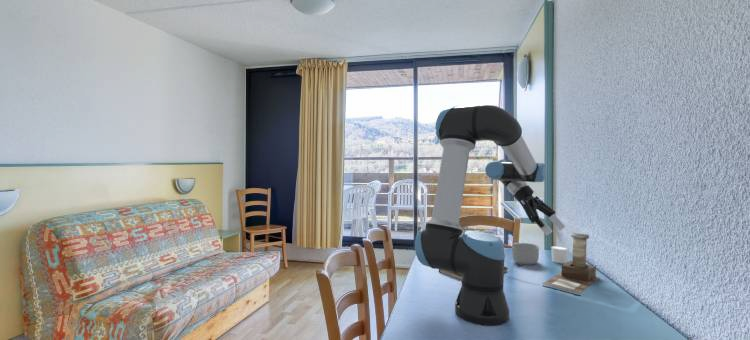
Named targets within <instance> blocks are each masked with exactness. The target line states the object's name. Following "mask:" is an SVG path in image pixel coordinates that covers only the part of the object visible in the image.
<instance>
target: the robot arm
mask: <svg viewBox="0 0 750 340" xmlns="http://www.w3.org/2000/svg"><path fill="white" fill-rule="evenodd" d="M434 130H435V135H436V138H437V139H438V140H439V144H440V146H441V147H442V148H443V150H442V154H441V160H440V161H441V162H440V168H439V171H438V172H439V174H438V179H437V185H436V189H435V195H434V196H435V198H434V202H433V208H432V214H431V218H430V219H429V220H427V221H426V222H425V226H424V228H421V229H420V230H419V231H418V233H417V234H416V236H415V240H414V250H415V255H416V257H417V260H418V261H419V263H421V265H423V266H425V267H428V268H429V267H430V268H431V269H434V270H439V269H440V270H444V271H448V272H453V273H457V274H461V275H462V280H461V287H460V289H459V292H458V294H457V297H456V300H455V303H454V313H455V314H456V315H457V316H458V317H459V318H460V319H462V320H464V321H466V322H467V323H470V324H475V325H480V326H489V327H491V326H501V325H504V324H505V323H508V321H509V319H510V307H509V305H508V301H507V299H506V295H505V291H504V284H505V283H504V281H505V280H504V277H505V273H504V267H505V259H506V255H505V254H506V253H505V244H504V241H503V240H502V239H501V238H500V237H499V236H497V235H495V234H492V233H489V232H486V231H485V232H484V231H481V230H478V231H476V230H465V231H464V232H463V228H462V226H461V225H460V216H461V209H462V202H463V197H464V190H465V184H466V183H465V182H466V176H467V171H468V164H469V158H470V152H471V151H473V150H474V149H476V145H477V141H478V142H479V141H491V142H493V143H494V144H495V145H496V146H498V147H501V149H502V151H503V152H504V154H505V155H506V156H507V158H508V160H509V162H508V161H507V160H505V159H504V158H502V159H499V160H492V161H489V162H488V163H487V164H486V165H485V169H484V171H485V174H486V176H487V178H488V179H489V178H490V179H491V180H493V181H494V180H495V181H498V182H499V181H500V182H501V184H502V185H503V186H505V189H507V190H508V191H507V192H509V193H511V195H513V197H514V199H515V200H516V201H517V202H518V203H519V204H520V206H521V207H522V209H523V210H524V212H525V214H526V216H527V218H528V220H529V221H530V222H531V223H532V224H534V223H535V224H536V225H537V226H538V227H539V229H540V230H541V231H542V232H543V233H544V234H545V235H546V236H549V235H550V234H551V233H553V229H551V227H550V226H549V225H548V224H547V222H546V221H544V219H543V218H542V217H540V216H539V213H538V211H539V212H541V213H542V214H544V215H545V216H547V217H548V220H550V222H551V223H552V224H553V225H554V226H555V227H556V228H557V229H558V231H562V230H563V229H565V227H566V226H565V224H564V223H563V222H562V221H561V220H560V219H559V218H558V217H557V216H556V211H555V210H553V208H552V207H550V206H549V205H547V204H546V203H545V202H544V201H543V200H542V199H540V198H539V197H538V196H537V195H535V197H534V196H533V194H534V192H535V191H534V190H533V189H532V188H531V186H530V185H529V184H528V183H530V182H531V183H543V182H545V180H546V178H547V171H548V170H547V165H546V163H544V162H539V161H538V162H536V160H535V158H534V156H533V155H532V152H531V151H530V148H529V146H528V144H527V143H526V141H525V139H524V138H523V136H522V133H523V129H522V126H521V124H520V122H519V120H517V119H516V118H515V117H514V116H513V115H512V114H511V113H509V112H508V111H507V110H505V109H504V108H502V107H500V106H497V105H494V104H489V103H482V104H472V105H461V106H459V105H455V106H450V107H446V108H444V109H442V111H440V112H439V113H438V116H437V118H436V121H435V127H434ZM527 182H528V183H527ZM537 210H538V211H537Z"/></svg>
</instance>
